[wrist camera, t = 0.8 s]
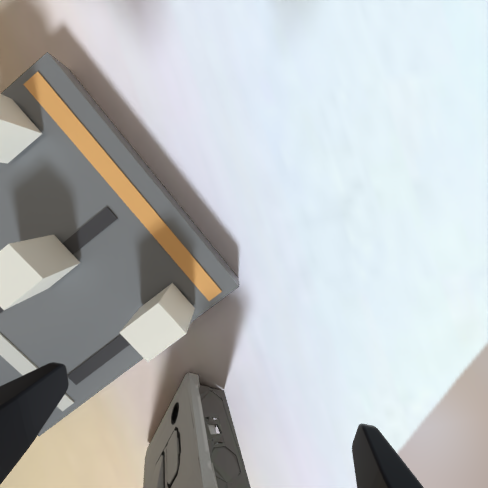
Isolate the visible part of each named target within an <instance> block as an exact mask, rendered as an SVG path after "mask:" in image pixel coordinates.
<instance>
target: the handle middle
mask: <svg viewBox="0 0 488 488" xmlns="http://www.w3.org/2000/svg"><path fill="white" fill-rule="evenodd" d="M78 264H80V262H79V261H78V260H77V259H76V258H75V256H74V255H73V254H72V253H71V252H70V251H69V250H68V249H67V248H66V247H65V246H64V245H63V244H62V243H61V242H60V241H59V239H58V238H57V237H56V236H55V235H49V236H44V237H39V238H34V239H29V240H24V241H20V242H15V243H10V244H8V245H7V246H5V247H4V248H3V249H2V250H1V251H0V307H1V308H2V309H3V310H6V309H8V308H10V307H12V306H14V305H16V304H18V303H20V302H22V301H24V300H26V299H28V298H30V297H32V296H34V295H36V294H38V293H40V292H42V291H44V290H46V289H48V288H50V287H51V286H52V285H53V284H55V283H56V282H57V281H58V280H60V279H61V278H62V277H63V276H65V275H66V274H67V273H68V272H70V271H71V270H72V269H73V268H75V267H76V266H77V265H78Z"/></svg>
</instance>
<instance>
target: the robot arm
mask: <svg viewBox="0 0 488 488" xmlns="http://www.w3.org/2000/svg"><path fill="white" fill-rule="evenodd" d="M68 386H69V381H68V375H67V368H66V366H65V365H64V364H61V363H56V362H51V363H48V364H46V365H44V366H42V367H40V368H38V369H35V370H33V371H31V372H29V373H27V374H25V375H23V376H21V377H19V378H16V379H14V380H12V381H10V382H8V383H6V384H4V385H2V386H0V484H1V483H2V482H3V480H4V479H5V478H6V477H7V475H8V474H9V473H10V471H11V470H12V469H13V468H14V466H15V465H16V464H17V462H18V461H19V460H20V459H21V457H22V456H23V455H24V453H25V452H26V451H27V449H28V448H29V447H30V445H31V444H32V442H33V441H34V440H35V438H36V437H37V435H38V434H39V432H40V431H41V429H42V428H43V426H44V425H45V423H46V422H47V420H48V419H49V417H50V416H51V414H52V413H53V411H54V410H55V408H56V407H57V405H58V404H59V402H60V401H61V399H62V398H63V396H64V395H65V393H66V391H67V389H68ZM352 453H353V460H354V467H355V475H356V482H357V488H423V486H422V485H421V484H420V482H419V481H418V480H417V478H416V477H415V476H414V475H413V474H412V472H411V471H410V470H409V468H408V467H407V466H406V464H405V463H404V462H403V461H402V459H401V458H400V457H399V455H398V454H397V453H396V452H395V450H394V449H393V448H392V446H391V445H390V444H389V443H388V441H387V440H386V439H385V438H384V436H383V435H382V434H381V432H380V431H379V430H378V429H377V428H376V427H375V426H372V425H367V424H360V425H359V426H358V429H357V432H356V435H355V438H354V441H353V445H352Z"/></svg>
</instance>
